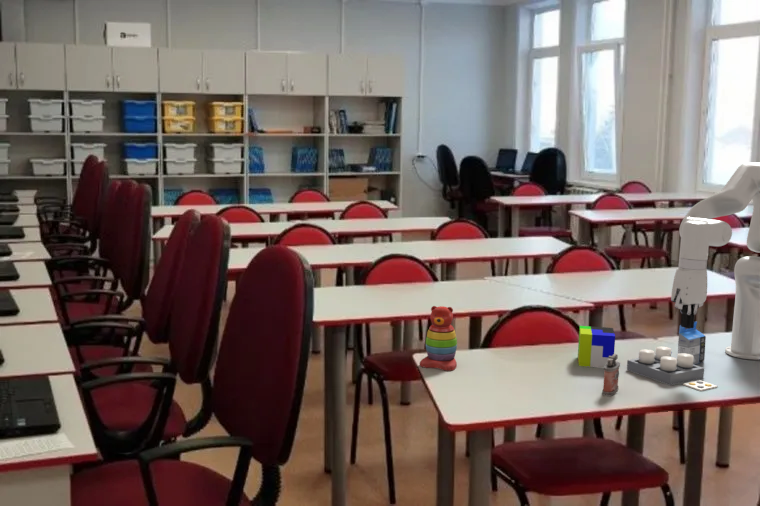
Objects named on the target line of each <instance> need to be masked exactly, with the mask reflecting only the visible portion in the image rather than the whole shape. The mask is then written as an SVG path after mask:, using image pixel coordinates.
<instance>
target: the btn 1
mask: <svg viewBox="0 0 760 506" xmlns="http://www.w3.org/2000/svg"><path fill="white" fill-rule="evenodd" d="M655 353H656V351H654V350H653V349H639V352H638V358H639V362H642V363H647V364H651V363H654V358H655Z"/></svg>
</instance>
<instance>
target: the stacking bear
mask: <svg viewBox="0 0 760 506" xmlns="http://www.w3.org/2000/svg"><path fill="white" fill-rule="evenodd" d="M430 311H431V313H430V322H431V325H430V326H429V327H428V330H427V332H426V337H425V350H426V355H427V356H425V357H424V358H422V359H421V360H420V361H419V366H420V367H422V368H426V369H429V368H430V369H431V368H432V369H433V368H434V369H440V370H442V371H454V370H455V369H457V365H458V363H457V360H456V358H455V357H456V351H457V348H458V339H457V334H456V330H455V328H454V326H453V325H452V323H453V318H454V314H453V312H454V309H453V308H452V307H451V306H448V307H447V306H443V305H441V306H440V305H439V306H435V305H433V306H431V308H430Z"/></svg>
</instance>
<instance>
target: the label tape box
mask: <svg viewBox="0 0 760 506" xmlns="http://www.w3.org/2000/svg"><path fill="white" fill-rule="evenodd" d="M697 324H698V321H694V328H690V329H688V328H685V327H681V324H680V325H679V329H678V343H677V344H678V346H677V355H678V354H679V353H686V354H691V355H693V356H694V358H693V365H698V364H701V363H704V362H705V357H706V355H705V353H706V338H707V337H706V334H705V335H704V334H703V332H701V331H699V330H698V329H697Z"/></svg>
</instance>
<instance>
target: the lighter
mask: <svg viewBox="0 0 760 506" xmlns="http://www.w3.org/2000/svg"><path fill="white" fill-rule="evenodd" d="M618 357H619V355H618V353H614V354H613V355H612V356H609V358H608V361H607V364H605V366H604V368H603V371H604V372H603V373H604V374H603V385H602V386H603V387H602V392H601V394H602V396H607V397H608V396H610V397H611V396H613V394H614V395H615V394H616V392H617V393H618V391H619V377H620V367H621V362H620V361H617V360H618Z"/></svg>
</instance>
